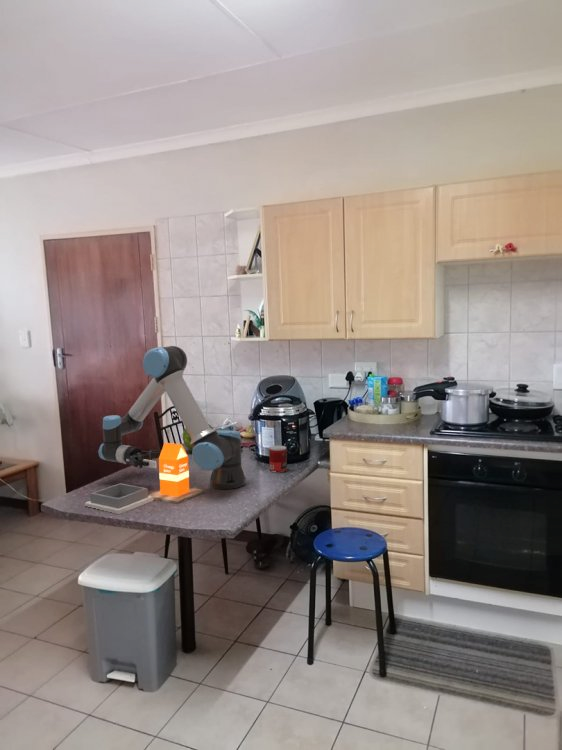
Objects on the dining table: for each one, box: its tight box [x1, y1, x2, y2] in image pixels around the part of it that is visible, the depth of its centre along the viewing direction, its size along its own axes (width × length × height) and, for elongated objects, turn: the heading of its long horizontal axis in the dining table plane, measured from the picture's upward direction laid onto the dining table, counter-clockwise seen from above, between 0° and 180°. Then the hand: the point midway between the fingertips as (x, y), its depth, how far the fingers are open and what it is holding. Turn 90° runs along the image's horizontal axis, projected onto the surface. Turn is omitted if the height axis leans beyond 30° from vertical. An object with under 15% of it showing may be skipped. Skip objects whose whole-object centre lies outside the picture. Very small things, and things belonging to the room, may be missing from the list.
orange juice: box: [158, 442, 190, 497], centre depth 226 cm, size 8×9×20 cm
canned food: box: [268, 445, 288, 472], centre depth 260 cm, size 8×8×11 cm
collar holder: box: [84, 482, 155, 515], centre depth 218 cm, size 18×18×5 cm
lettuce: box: [182, 424, 214, 452], centre depth 304 cm, size 17×23×16 cm
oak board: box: [148, 487, 204, 504], centre depth 227 cm, size 16×16×1 cm
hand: (167, 460), depth 227 cm, fingers open, 13 cm apart
